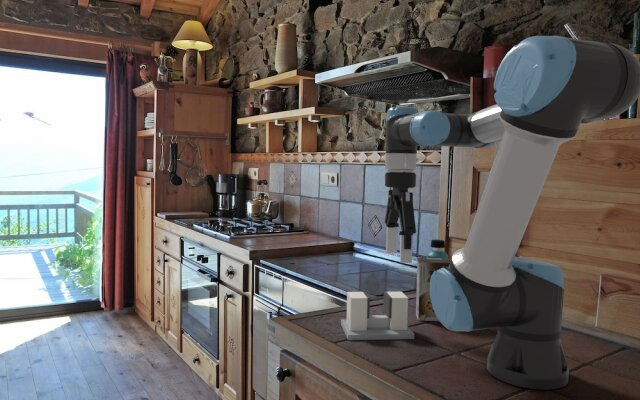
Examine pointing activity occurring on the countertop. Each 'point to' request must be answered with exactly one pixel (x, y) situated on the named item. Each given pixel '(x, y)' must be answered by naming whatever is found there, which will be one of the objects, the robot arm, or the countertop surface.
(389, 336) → the rail base
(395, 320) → the white bridge block
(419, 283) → the coffee box
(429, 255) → the beverage bottle
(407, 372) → the countertop surface
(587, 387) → the countertop surface
